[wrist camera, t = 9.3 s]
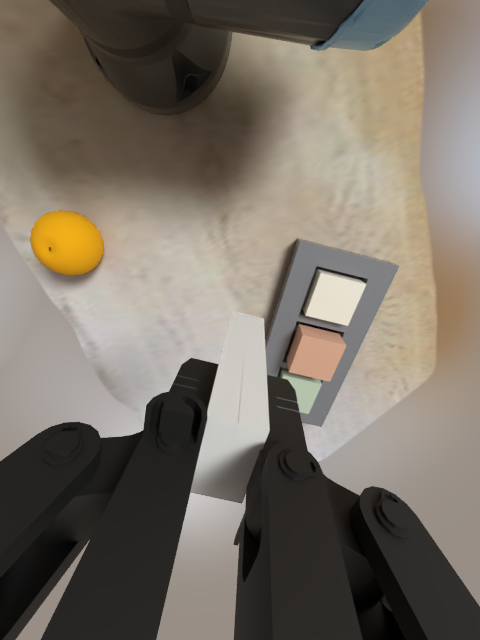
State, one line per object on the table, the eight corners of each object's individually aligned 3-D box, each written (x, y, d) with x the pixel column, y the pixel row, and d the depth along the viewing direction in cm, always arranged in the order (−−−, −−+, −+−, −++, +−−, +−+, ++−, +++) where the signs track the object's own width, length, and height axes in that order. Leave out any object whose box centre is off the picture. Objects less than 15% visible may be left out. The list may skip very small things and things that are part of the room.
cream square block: (315, 266, 37) (320, 272, 34) (357, 277, 37) (366, 284, 34) (301, 306, 39) (305, 315, 36) (340, 316, 39) (347, 325, 36)
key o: (281, 362, 43) (283, 375, 40) (317, 371, 43) (321, 384, 40) (271, 391, 46) (272, 405, 42) (305, 399, 46) (308, 414, 43)
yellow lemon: (56, 202, 36) (8, 202, 29) (114, 219, 36) (81, 223, 29) (57, 260, 39) (14, 272, 32) (110, 275, 39) (79, 290, 33)
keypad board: (297, 238, 36) (300, 240, 33) (390, 262, 36) (399, 266, 34) (247, 399, 47) (246, 409, 45) (318, 416, 47) (321, 426, 45)
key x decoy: (299, 324, 38) (302, 334, 35) (339, 333, 38) (346, 345, 35) (286, 358, 41) (288, 372, 37) (324, 367, 41) (330, 381, 38)
